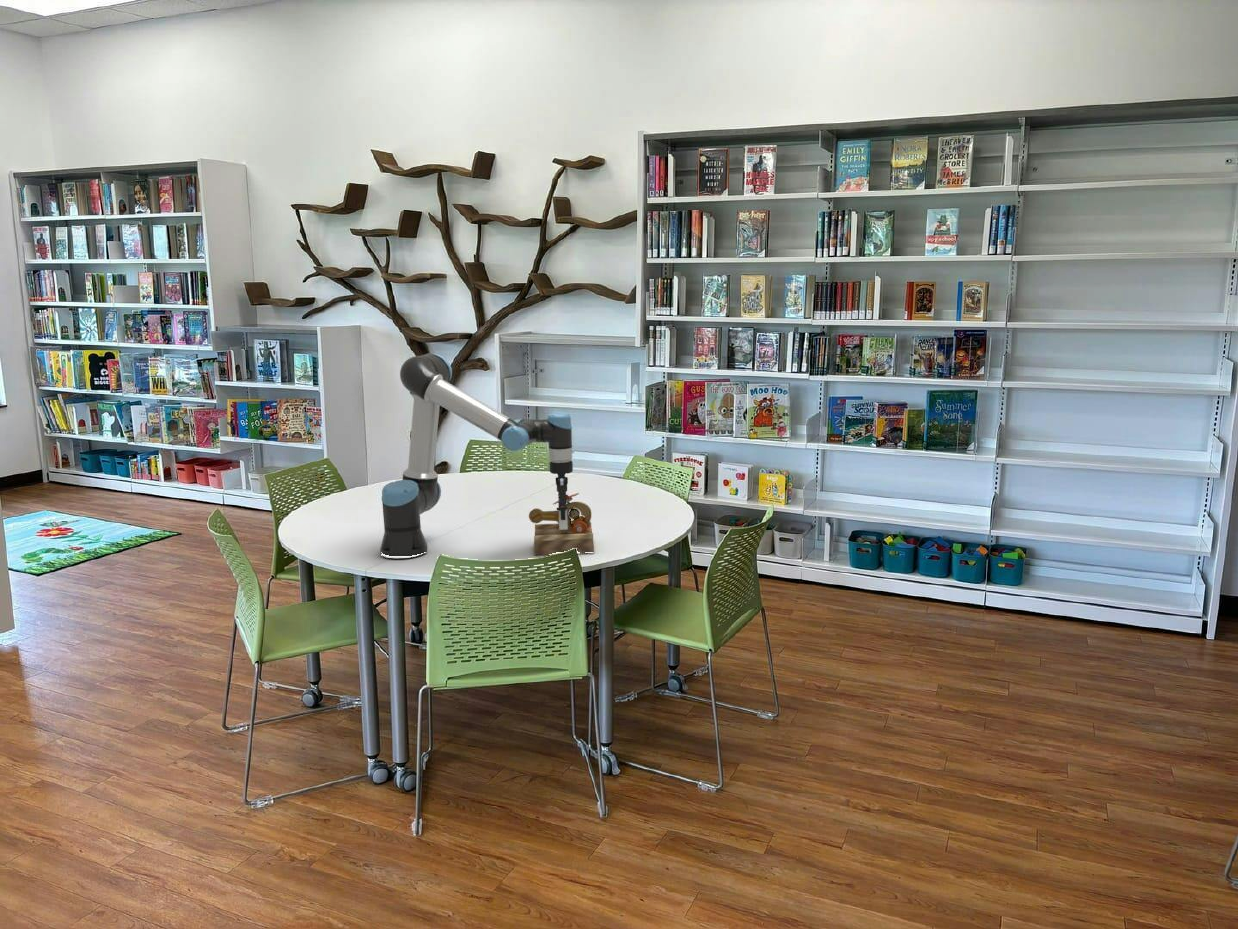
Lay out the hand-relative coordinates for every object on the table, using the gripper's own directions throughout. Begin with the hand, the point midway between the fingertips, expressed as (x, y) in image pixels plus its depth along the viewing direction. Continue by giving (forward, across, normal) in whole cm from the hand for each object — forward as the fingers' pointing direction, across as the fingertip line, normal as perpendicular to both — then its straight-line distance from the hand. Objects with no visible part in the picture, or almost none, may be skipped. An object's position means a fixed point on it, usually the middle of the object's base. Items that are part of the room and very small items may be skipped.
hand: (563, 524), depth 309 cm
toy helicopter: (+3, 0, 0) cm, 3 cm away
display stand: (+8, 0, 0) cm, 8 cm away
